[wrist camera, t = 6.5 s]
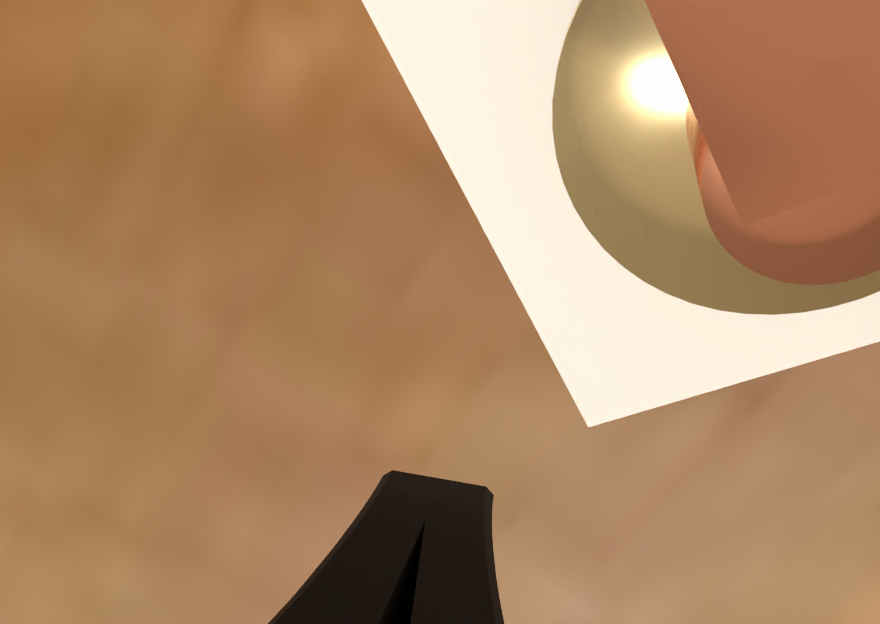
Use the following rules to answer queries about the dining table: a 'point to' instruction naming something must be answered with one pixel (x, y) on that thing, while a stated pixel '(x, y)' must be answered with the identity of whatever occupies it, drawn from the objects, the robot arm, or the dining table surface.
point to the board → (576, 219)
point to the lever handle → (727, 146)
